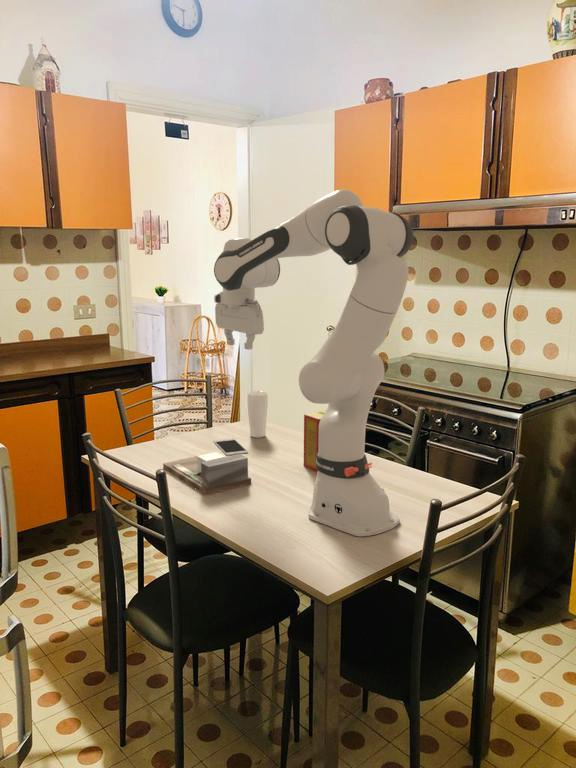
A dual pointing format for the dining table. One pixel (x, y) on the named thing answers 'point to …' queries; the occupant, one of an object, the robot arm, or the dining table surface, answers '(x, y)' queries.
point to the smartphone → (230, 447)
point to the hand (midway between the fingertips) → (239, 347)
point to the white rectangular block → (206, 458)
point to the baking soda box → (311, 438)
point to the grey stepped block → (212, 473)
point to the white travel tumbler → (257, 413)
